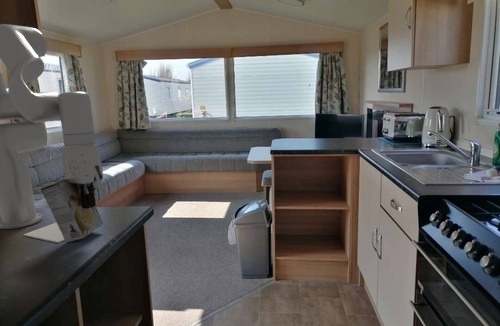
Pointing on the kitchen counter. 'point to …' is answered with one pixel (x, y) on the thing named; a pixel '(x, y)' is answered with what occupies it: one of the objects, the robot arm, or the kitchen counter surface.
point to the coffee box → (70, 210)
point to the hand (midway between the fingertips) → (89, 206)
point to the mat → (47, 233)
